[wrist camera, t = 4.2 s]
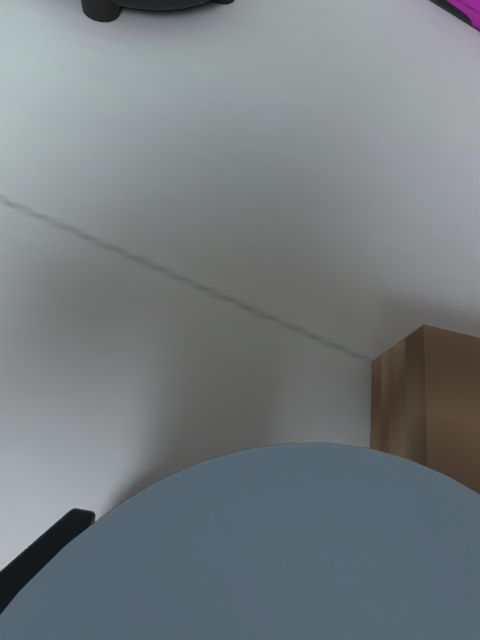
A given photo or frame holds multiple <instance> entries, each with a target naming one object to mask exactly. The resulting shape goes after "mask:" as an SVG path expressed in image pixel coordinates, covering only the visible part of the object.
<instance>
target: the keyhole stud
mask: <svg viewBox="0 0 480 640" xmlns="http://www.w3.org/2000/svg"><path fill="white" fill-rule="evenodd" d="M0 640H480V494H478V493H476V492H475V491H473V490H471V489H469V488H468V487H466V486H464V485H462V484H461V483H459V482H457V481H455V480H454V479H452V478H450V477H449V476H447V475H444V474H442V473H440V472H437V471H435V470H433V469H430V468H428V467H425V466H423V465H421V464H418V463H416V462H414V461H411V460H409V459H406V458H402V457H398V456H395V455H391V454H388V453H384V452H380V451H377V450H373V449H369V448H363V447H356V446H348V445H341V444H333V443H283V444H277V445H270V446H263V447H256V448H250V449H243V450H240V451H237V452H233V453H230V454H226V455H223V456H220V457H216V458H213V459H209V460H206V461H203V462H200V463H198V464H195V465H193V466H191V467H189V468H186V469H184V470H182V471H180V472H177V473H175V474H173V475H171V476H168V477H166V478H164V479H162V480H159V481H157V482H155V483H154V484H152V485H150V486H149V487H147V488H146V489H144V490H142V491H141V492H139V493H137V494H136V495H134V496H132V497H131V498H129V499H127V500H126V501H124V502H123V503H121V504H119V505H118V506H116V507H114V508H113V509H111V510H110V511H109V512H107V513H106V514H105V515H104V516H102V517H101V518H100V519H99V520H97V521H96V522H95V523H93V524H92V525H91V526H90V527H88V528H87V529H86V530H85V531H83V532H82V533H81V534H79V535H78V536H77V537H76V538H74V539H73V540H72V541H71V542H69V543H68V544H67V545H66V546H65V547H64V548H63V549H62V550H61V551H60V552H59V553H58V554H57V555H56V556H55V557H54V558H53V559H51V560H50V561H49V562H48V563H47V564H46V565H45V566H44V567H43V568H42V569H41V570H40V571H39V572H38V573H37V574H36V575H35V576H34V577H33V578H32V579H31V580H30V581H29V582H28V583H27V584H26V585H25V586H24V587H23V588H22V589H21V590H20V591H19V593H18V594H17V595H16V596H15V597H14V599H13V600H12V601H11V602H10V604H9V605H8V606H7V607H6V608H5V610H4V611H3V612H2V613H1V615H0Z"/></svg>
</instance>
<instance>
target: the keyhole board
mask: <svg viewBox="0 0 480 640" xmlns="http://www.w3.org/2000/svg"><path fill="white" fill-rule="evenodd" d="M371 449H373V450H377V451H380V452H384V453H388V454H391V455H395V456H398V457H402V458H406V459H409V460H411V461H414V462H416V463H418V464H421V465H423V466H425V467H428V468H430V469H433V470H435V471H437V472H440V473H442V474H444V475H447V476H449V477H450V478H452V479H454V480H455V481H457V482H459V483H461V484H462V485H464V486H466V487H468V488H469V489H471V490H473V491H475V492H476V493H478V494H480V338H477V337H472V336H468V335H464V334H460V333H456V332H451V331H447V330H443V329H439V328H435V327H430V326H426V325H423V326H421V327H420V328H418V329H417V330H416V331H414V332H413V333H411V334H410V335H409V336H407V337H406V338H405V339H403V340H402V341H400V342H399V343H398V344H396V345H395V346H394V347H392V348H391V349H389V350H388V351H387V352H385V353H384V354H383V355H381V356H380V357H378V358H377V359H376V360H374V361H373V372H372V411H371Z"/></svg>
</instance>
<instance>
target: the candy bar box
mask: <svg viewBox="0 0 480 640" xmlns="http://www.w3.org/2000/svg"><path fill="white" fill-rule="evenodd" d="M432 1H433V2H435V3H436V4H438V5H439V6H441V7H443V8H444V9H446V10H447V11H449V12H451V13H452V14H454V15H455V16H457V17H459V18H460V19H462V20H463V21H465V22H467V23H468V24H470V25H472V26H473V27H475V28H476V29H478V30H480V0H432Z"/></svg>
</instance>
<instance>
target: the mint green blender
mask: <svg viewBox="0 0 480 640" xmlns="http://www.w3.org/2000/svg"><path fill="white" fill-rule="evenodd" d="M207 1H209V0H81V2H82V8H83V12H84V13H85V14H86V15H87V16H88V17H89V18H91V19H93V20H95V21H100V22H109V21H112V20H114V19H116V18H117V17H118V15H119V6H122V7H127V8H136V9H145V10H173V9H183V8H187V7H191V6H195V5H199V4H203V3H205V2H207ZM212 1H214V2H216V3H220V4H228V3H232V2H233V1H234V0H212Z"/></svg>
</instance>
